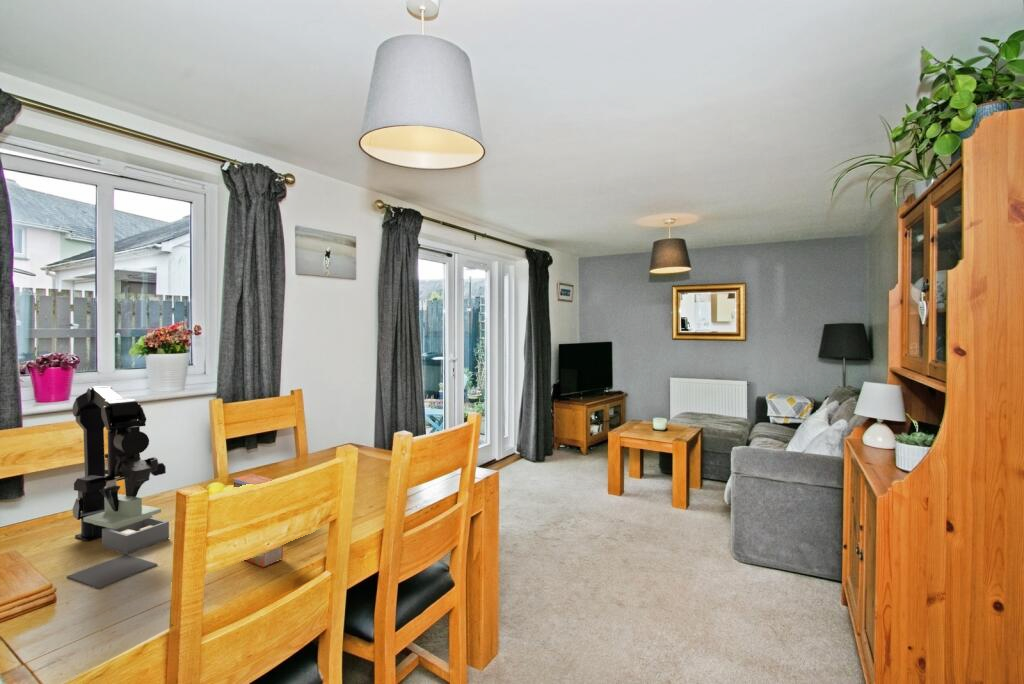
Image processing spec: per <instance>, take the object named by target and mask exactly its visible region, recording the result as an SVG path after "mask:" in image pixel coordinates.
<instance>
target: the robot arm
mask: <svg viewBox="0 0 1024 684" xmlns="http://www.w3.org/2000/svg"><path fill="white" fill-rule="evenodd" d="M72 415H73V417H75V422H76V423H77V424H78V426H79V427H80V428H81V429H82V430H83V456H84V457H83V458H84V462H83V463H84V476H81V477H79V478H76V479H75V481H74V482H73V491H75V492H76V491H77V498H76V499H75V501H74V504H73V507H72V516H73V518H74V519H75V520H77V521H80V533H79V534H75V535H74V538H77V539H79V540H83V541H86V542H88V541H93V540H95V539H97V538H102V529H103V528H106V527H103V526H99V525H94V524H92V523H88V522H84V521H83V518H84V517H87V516H90V515H94V514H97V513H101V512H104V511H105V504H104V497H105V498H106V499H107V501H108V502H109V504H110V506H111V507H112V509H113V511H115V512H117V511H118V494H119V493H118V492H119V490H120V488H121V485H117V482H118V481H123V480H124V487H125V495H127V496H133V497H137V495H138V493H139V491H140V489H141V487H142V486H143V484H145V482H148V481H150V480H151V479H150V476H151V475H153V477H154V476H155V477H156V476H160V475H164V474H167V473H166V471H167V469H166V465H165V464H164V463H163V462H159V461H158V458H157V457H154V456H152V457H149V458H146V459H142V458H141V454H142V453H143V452H144V451H146V450H147V448H148V447H149V444H150V438H149V436H148V435H147V433H145V432H143V431H141V430H140V429H141V428H140V427H146V422H147V417H146V414H145V412H144V408H143V407H142V406H141V403H139V401H138V400H136V399H134V398H129V397H127V398H124V397H121V396H120V395H119V394H118V393H116V392H115V391H114V390H113V388H112V386H109V385H104V386H103V385H102V386H101V385H100V386H99V385H98V386H91V387H89V388H87V390H86V392H84V393H82V394H81V395H79V396H77V397H76V398H75V400H74V401H73V404H72ZM104 429H106V430H107V453H105V433H104V432H105V430H104ZM106 459H107V469H106V464H105V463H106V461H105V460H106Z"/></svg>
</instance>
